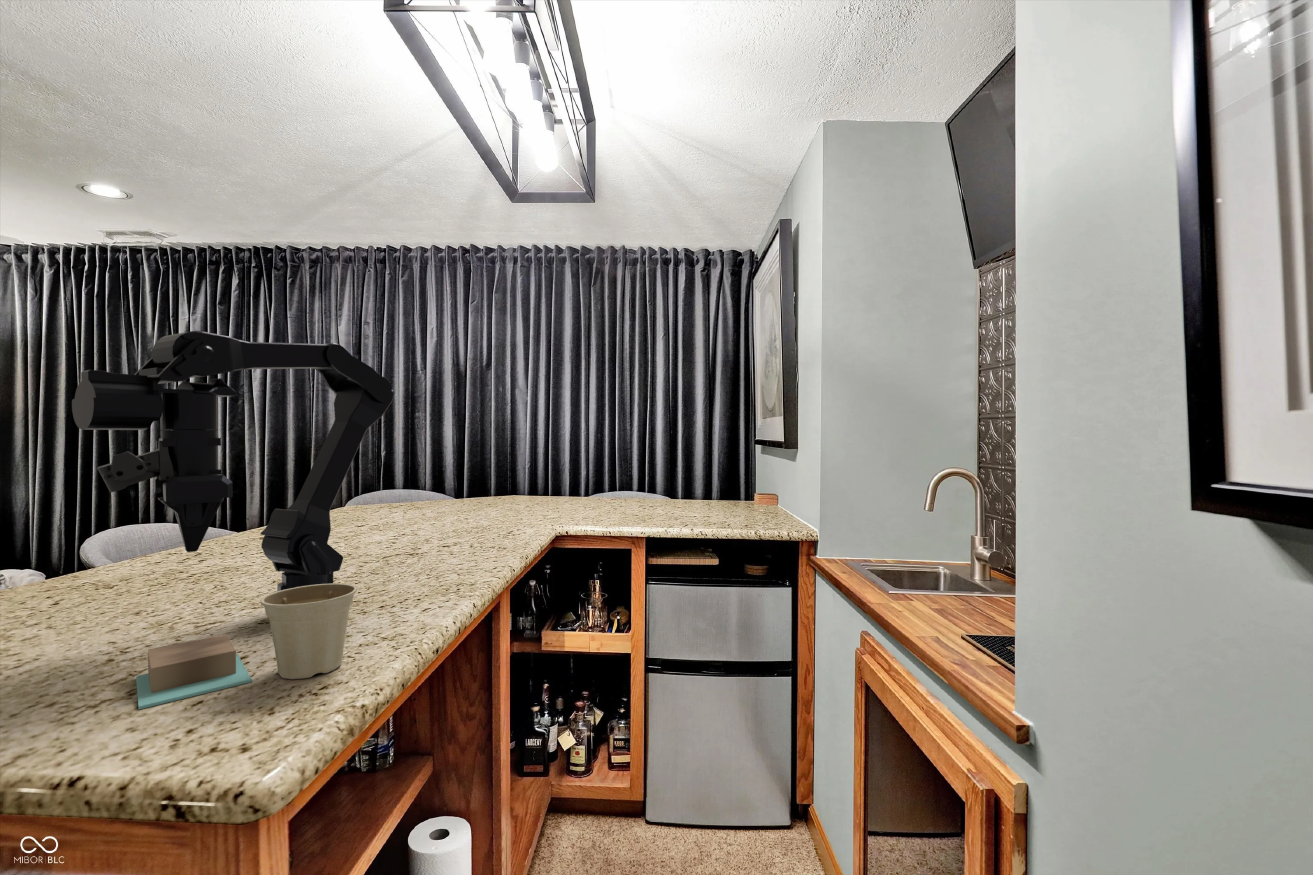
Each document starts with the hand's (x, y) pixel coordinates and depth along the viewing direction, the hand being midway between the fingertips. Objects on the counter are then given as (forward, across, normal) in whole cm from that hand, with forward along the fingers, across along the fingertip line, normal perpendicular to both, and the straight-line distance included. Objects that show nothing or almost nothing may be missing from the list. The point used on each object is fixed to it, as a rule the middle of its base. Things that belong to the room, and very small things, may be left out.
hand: (191, 551), depth 73 cm
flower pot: (+12, +20, +8) cm, 25 cm away
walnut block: (+10, +9, -1) cm, 14 cm away
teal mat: (+12, +15, -1) cm, 19 cm away
